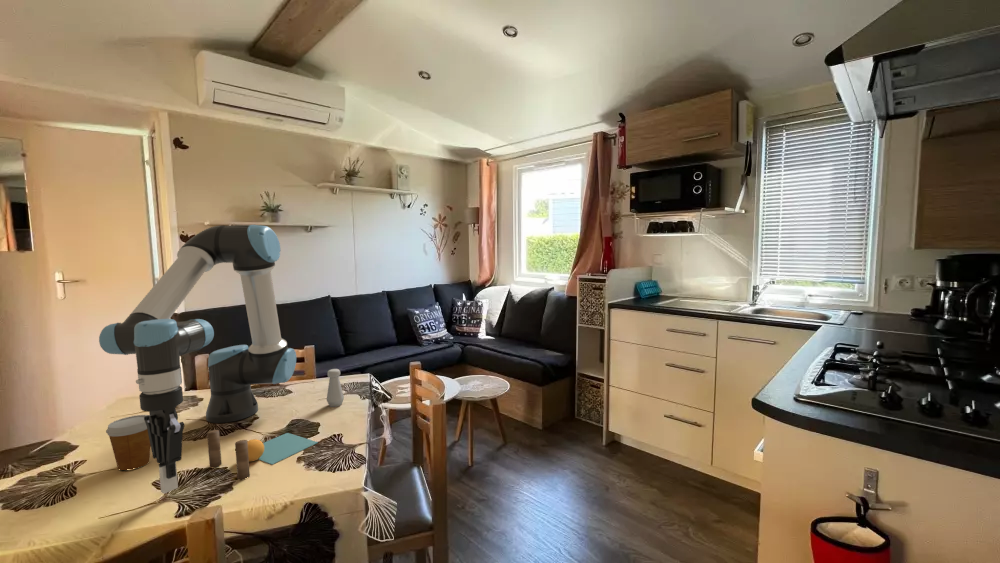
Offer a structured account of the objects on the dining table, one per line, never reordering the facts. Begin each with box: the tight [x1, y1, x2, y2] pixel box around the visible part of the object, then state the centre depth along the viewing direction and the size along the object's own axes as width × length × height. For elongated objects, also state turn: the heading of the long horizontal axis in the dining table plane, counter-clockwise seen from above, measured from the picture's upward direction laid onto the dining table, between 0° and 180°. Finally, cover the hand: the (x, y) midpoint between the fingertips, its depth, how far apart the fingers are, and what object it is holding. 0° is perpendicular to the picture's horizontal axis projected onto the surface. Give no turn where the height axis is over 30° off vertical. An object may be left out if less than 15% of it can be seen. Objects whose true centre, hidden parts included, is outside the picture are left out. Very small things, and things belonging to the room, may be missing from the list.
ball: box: [247, 438, 264, 462], centre depth 114 cm, size 6×6×6 cm
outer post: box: [234, 439, 251, 480], centre depth 105 cm, size 3×3×9 cm
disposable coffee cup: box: [105, 414, 151, 470], centre depth 112 cm, size 10×10×12 cm
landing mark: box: [257, 432, 319, 466], centre depth 121 cm, size 14×14×1 cm
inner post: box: [206, 429, 223, 468], centre depth 111 cm, size 3×3×9 cm
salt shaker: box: [326, 368, 345, 408], centre depth 153 cm, size 6×6×13 cm
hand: (169, 489), depth 97 cm, fingers closed
